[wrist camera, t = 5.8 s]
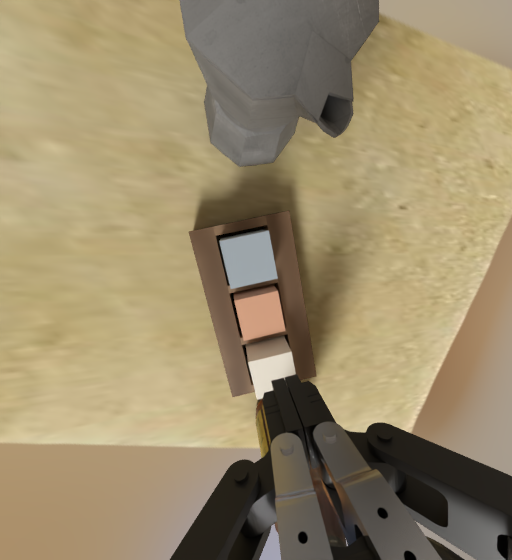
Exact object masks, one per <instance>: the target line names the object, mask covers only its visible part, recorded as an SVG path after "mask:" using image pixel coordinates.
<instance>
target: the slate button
mask: <svg viewBox="0 0 512 560" xmlns="http://www.w3.org/2000/svg"><path fill="white" fill-rule="evenodd" d="M219 242H220V246H221V250H222V255H223V259H224V263H225V267H226V271H227V276H228V280H229V284H230V288H231V289H234V288H238V287H243V286H247V285H251V284H256V283H260V282H265V281H269V280H274V279H278V277H277V271H276V266H275V261H274V255H273V250H272V245H271V239H270V234H269V231H268V230H263V229H262V230H258V231H253V232H248V233H244V234H239V235H234V236H230V237H225V238H221V239H220V241H219Z"/></svg>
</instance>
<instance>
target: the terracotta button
mask: <svg viewBox="0 0 512 560" xmlns="http://www.w3.org/2000/svg"><path fill="white" fill-rule="evenodd" d="M234 302H235V306H236V310H237V314H238V319H239V323H240V327H241V331H242V335H243V340H244V341H246V340H250V339H254V338H258V337H263V336H267V335H271V334H275V333H279V332H284V331H285V325H284V320H283V315H282V310H281V304H280V299H279V294H278V290H277V289H276V287H275V286H274V285H273V284H269V285H264V286H260V287H256V288H251V289H247V290H242V291H238V292H234Z"/></svg>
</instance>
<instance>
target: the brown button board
mask: <svg viewBox="0 0 512 560" xmlns="http://www.w3.org/2000/svg"><path fill="white" fill-rule="evenodd" d="M259 226H264V230H268V231H269V234H270V239H271V245H272V250H273V255H274V261H275V266H276V271H277V277H278V279H274V280H269V281H265V282H260V283H256V284H251V285H247V286H243V287H238V288H234V289H231V288H230V284H229V280H228V279H227V275H226V271H225V267H224V262H223V258H222V254H221V250H220V246H219V241H218V237H217V235H222V234H226V233H231V232H236V231H240V230H245V229H250V228H254V227H259ZM189 235H190V239H191V243H192V246H193V250H194V254H195V258H196V261H197V265H198V269H199V273H200V276H201V280H202V284H203V288H204V292H205V295H206V299H207V303H208V307H209V310H210V314H211V318H212V322H213V325H214V329H215V333H216V337H217V340H218V344H219V348H220V352H221V356H222V359H223V363H224V367H225V371H226V374H227V378H228V382H229V386H230V389H231V393H232V397H235V396H239V395H243V394H247V393H251V392H255V389H254V385H253V381H252V376H251V372H250V370H249V367H248V363H247V359H246V355H245V350H244V346H243V345H244V344H248V343H252V342H256V341H260V340H265V339H269V338H273V337H277V336H281V335H284V336H285V339H286V341H287V343H288V345H289V347H290V350H291V352H292V357H293V362H294V367H295V373H296V374H297V375H298V377H299V379H300V380H303V379H307V378H311V377H315V376H316V370H315V364H314V358H313V352H312V346H311V340H310V334H309V328H308V322H307V316H306V309H305V303H304V297H303V291H302V285H301V279H300V273H299V267H298V261H297V255H296V249H295V243H294V237H293V231H292V224H291V218H290V212H289V211H285V212H280V213H275V214H270V215H265V216H261V217H256V218H251V219H246V220H242V221H237V222H232V223H227V224H223V225H218V226H213V227H208V228H204V229H199V230H194V231H190V232H189ZM273 283H274V284H275V287H276V289H277V290H278V294H279V299H280V304H281V310H282V315H283V320H284V325H285V331H284V332H279V333H275V334H271V335H267V336H263V337H258V338H254V339H250V340H246V341H244V340H243V335H242V331H241V327H239V325H238V321H237V317H236V313H235V308H234V304H233V300H232V296H231V293H234V292H238V291H242V290H247V289H251V288H256V287H260V286H264V285H269V284H273Z"/></svg>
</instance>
